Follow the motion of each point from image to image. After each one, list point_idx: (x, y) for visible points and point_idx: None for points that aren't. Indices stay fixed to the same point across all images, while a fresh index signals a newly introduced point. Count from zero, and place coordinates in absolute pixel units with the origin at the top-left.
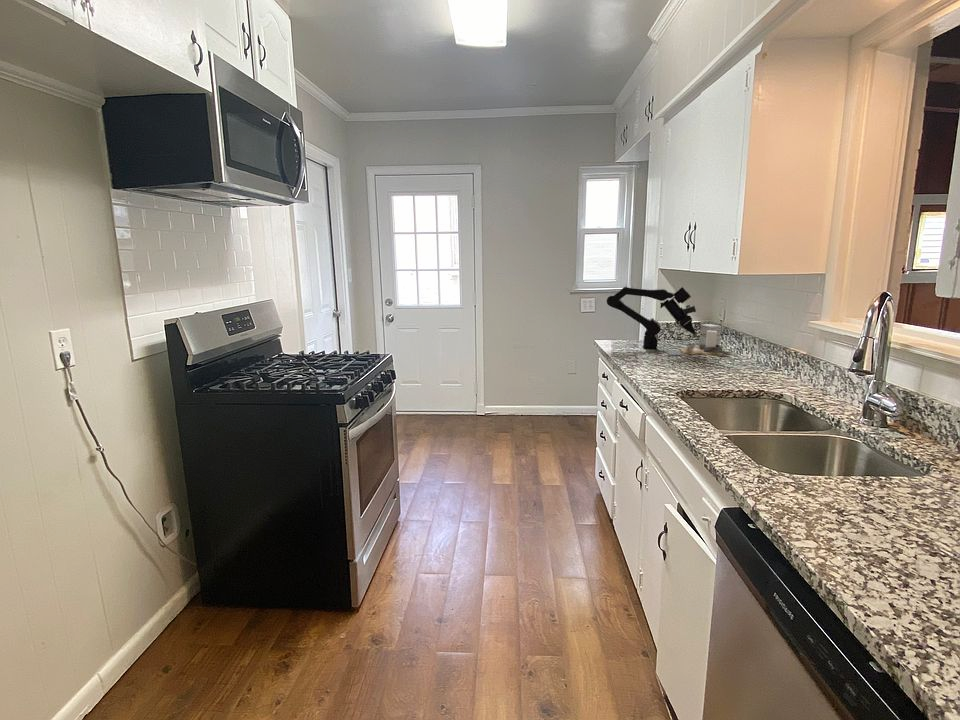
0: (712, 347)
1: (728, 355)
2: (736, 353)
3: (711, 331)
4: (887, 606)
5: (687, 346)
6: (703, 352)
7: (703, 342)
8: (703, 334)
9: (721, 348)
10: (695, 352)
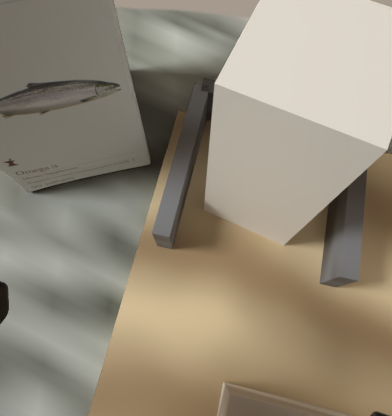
0: (364, 197)
1: None
2: None
3: (351, 69)
4: None
5: None
6: (364, 304)
7: (69, 153)
8: (16, 101)
9: None
10: (378, 399)
